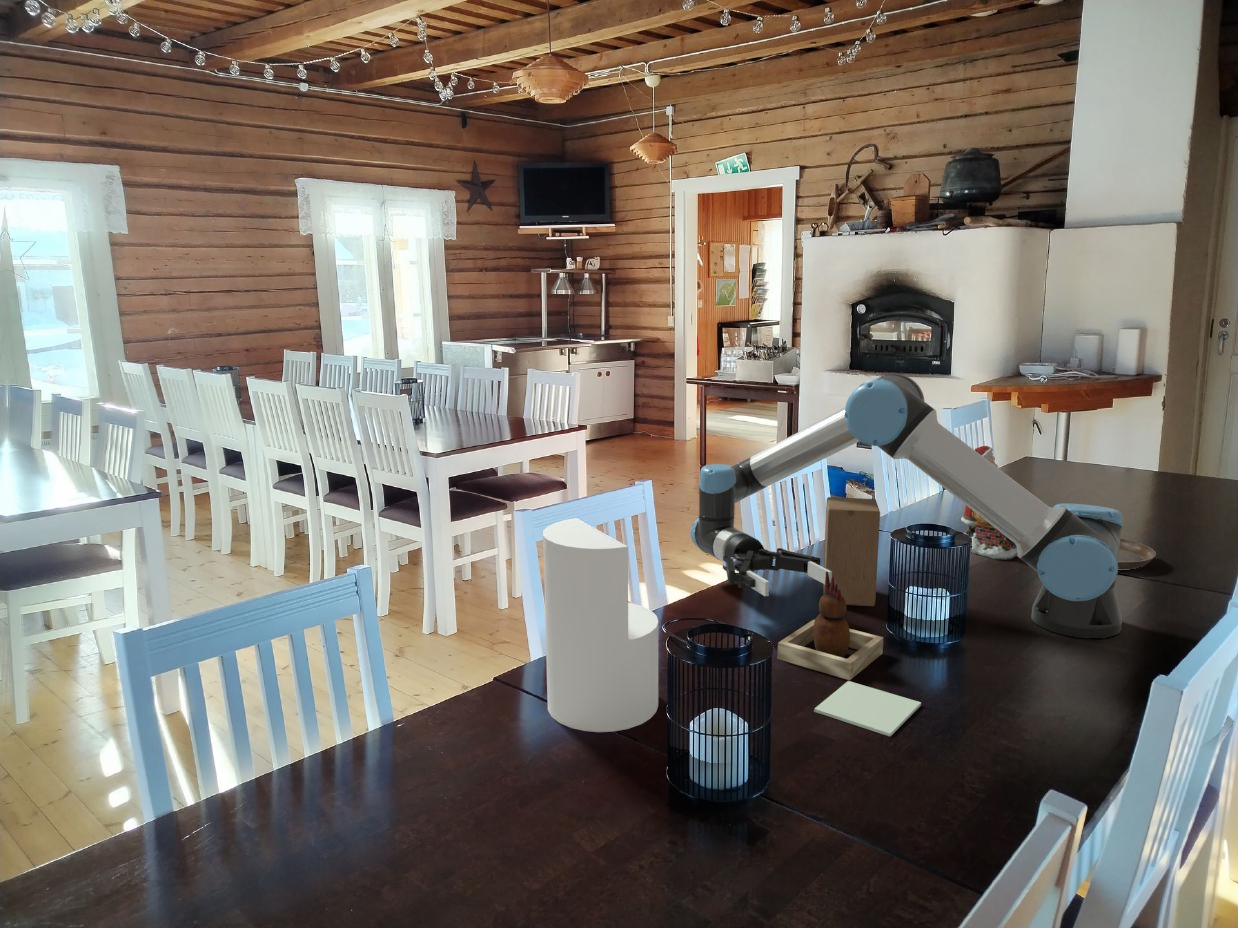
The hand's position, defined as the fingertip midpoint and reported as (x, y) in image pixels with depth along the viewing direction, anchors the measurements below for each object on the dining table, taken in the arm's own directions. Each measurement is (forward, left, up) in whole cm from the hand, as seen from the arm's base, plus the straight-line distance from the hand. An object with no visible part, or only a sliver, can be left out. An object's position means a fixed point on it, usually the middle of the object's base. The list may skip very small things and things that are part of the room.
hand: (799, 583), depth 160 cm
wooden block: (+1, -24, -10) cm, 27 cm away
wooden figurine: (-9, +5, -10) cm, 14 cm away
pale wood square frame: (-9, +5, -10) cm, 14 cm away
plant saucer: (-35, -83, -11) cm, 91 cm away
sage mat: (-22, +19, -10) cm, 30 cm away
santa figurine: (-12, -75, -10) cm, 77 cm away
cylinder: (+11, +43, -10) cm, 45 cm away
